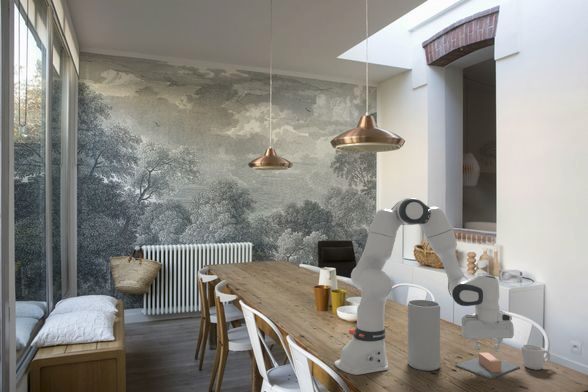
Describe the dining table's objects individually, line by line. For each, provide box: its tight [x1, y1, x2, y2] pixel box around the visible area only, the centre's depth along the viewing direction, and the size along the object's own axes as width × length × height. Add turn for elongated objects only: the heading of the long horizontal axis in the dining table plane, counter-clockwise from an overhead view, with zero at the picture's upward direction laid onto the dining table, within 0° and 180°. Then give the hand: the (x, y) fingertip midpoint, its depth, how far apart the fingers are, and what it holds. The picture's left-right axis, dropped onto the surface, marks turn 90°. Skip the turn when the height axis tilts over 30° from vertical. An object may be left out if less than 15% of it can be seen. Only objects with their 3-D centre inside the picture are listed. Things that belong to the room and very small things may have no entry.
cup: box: [521, 344, 551, 371], centre depth 170 cm, size 11×8×8 cm
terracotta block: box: [478, 352, 501, 372], centre depth 168 cm, size 4×4×10 cm
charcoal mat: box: [455, 356, 520, 380], centre depth 170 cm, size 20×15×1 cm
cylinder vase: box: [407, 299, 441, 372], centre depth 172 cm, size 12×12×25 cm
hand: (487, 349), depth 170 cm, fingers open, 6 cm apart
